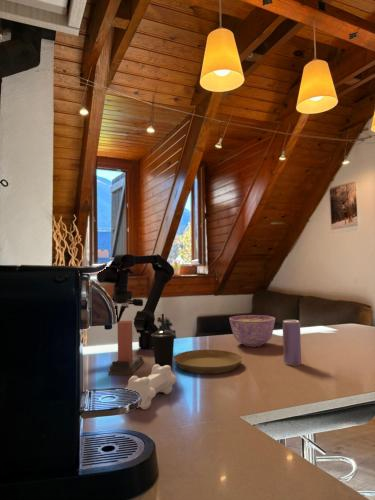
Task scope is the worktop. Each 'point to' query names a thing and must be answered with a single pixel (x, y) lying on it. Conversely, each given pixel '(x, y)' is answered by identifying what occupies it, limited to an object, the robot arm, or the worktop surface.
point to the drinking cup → (163, 346)
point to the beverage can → (291, 342)
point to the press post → (125, 341)
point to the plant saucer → (207, 361)
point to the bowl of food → (252, 329)
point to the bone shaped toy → (152, 384)
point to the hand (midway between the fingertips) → (117, 323)
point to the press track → (125, 367)
